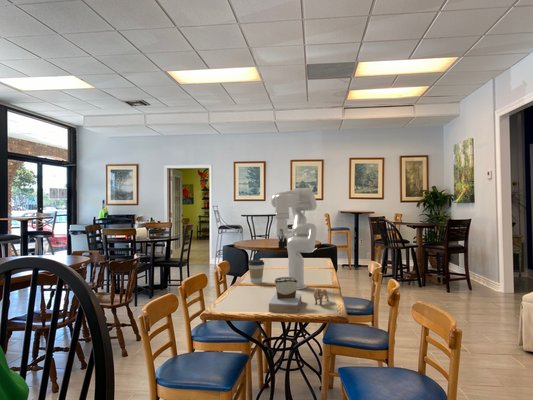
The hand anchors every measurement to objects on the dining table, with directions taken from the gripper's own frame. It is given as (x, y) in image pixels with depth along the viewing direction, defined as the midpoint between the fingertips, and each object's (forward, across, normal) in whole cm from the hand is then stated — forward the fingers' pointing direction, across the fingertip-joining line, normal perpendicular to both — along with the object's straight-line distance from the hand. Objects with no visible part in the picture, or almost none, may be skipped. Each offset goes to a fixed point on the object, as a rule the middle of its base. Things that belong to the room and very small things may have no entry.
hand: (282, 247), depth 191 cm
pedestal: (+28, +13, +3) cm, 31 cm away
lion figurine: (+29, +5, +21) cm, 36 cm away
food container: (+24, +11, +3) cm, 27 cm away
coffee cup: (+28, -38, -24) cm, 53 cm away
